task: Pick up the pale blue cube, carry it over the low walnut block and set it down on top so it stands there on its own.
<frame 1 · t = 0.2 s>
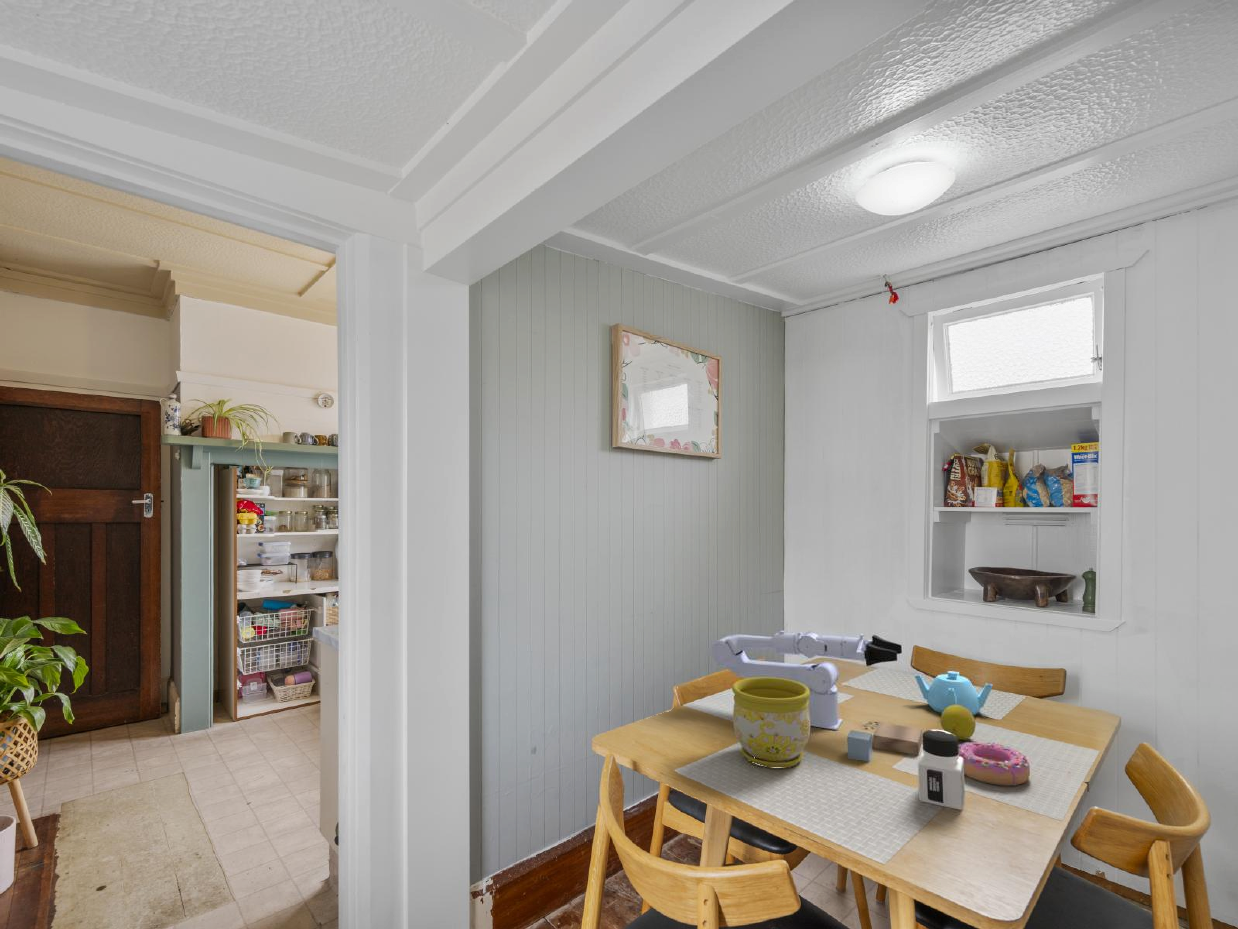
hand: (899, 652, 162), 21 cm above the table, tool horizontal, fingers open, 7 cm apart
container: (942, 799, 128), on the table
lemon: (959, 738, 160), on the table
teapot: (953, 710, 181), on the table
donut: (992, 775, 139), on the table
walnut block: (898, 744, 156), on the table
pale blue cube: (860, 756, 149), on the table
flowerpot: (771, 758, 149), on the table
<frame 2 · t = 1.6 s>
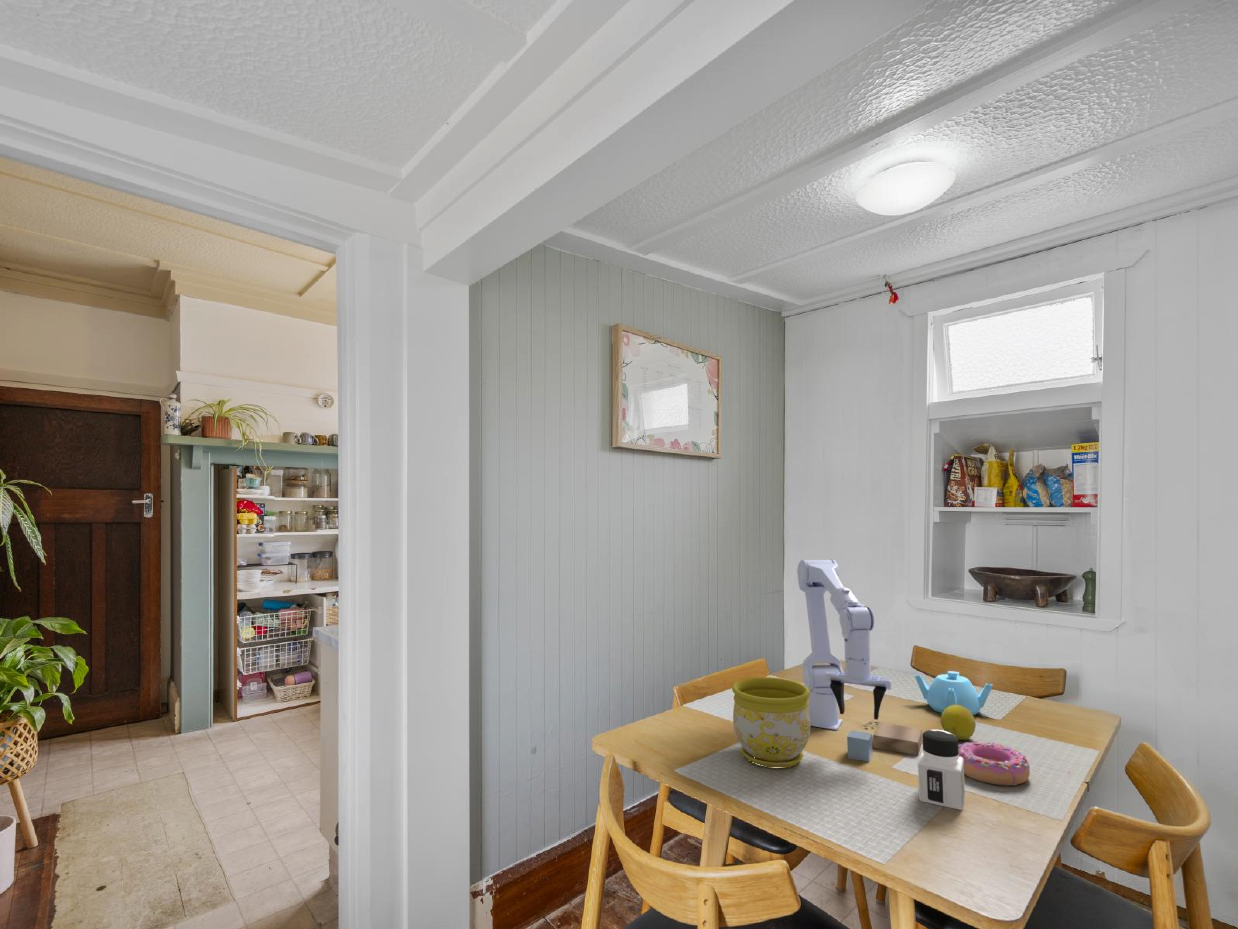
hand: (859, 715, 150), 9 cm above the table, tool pointing down, fingers open, 7 cm apart
nothing on the table moved.
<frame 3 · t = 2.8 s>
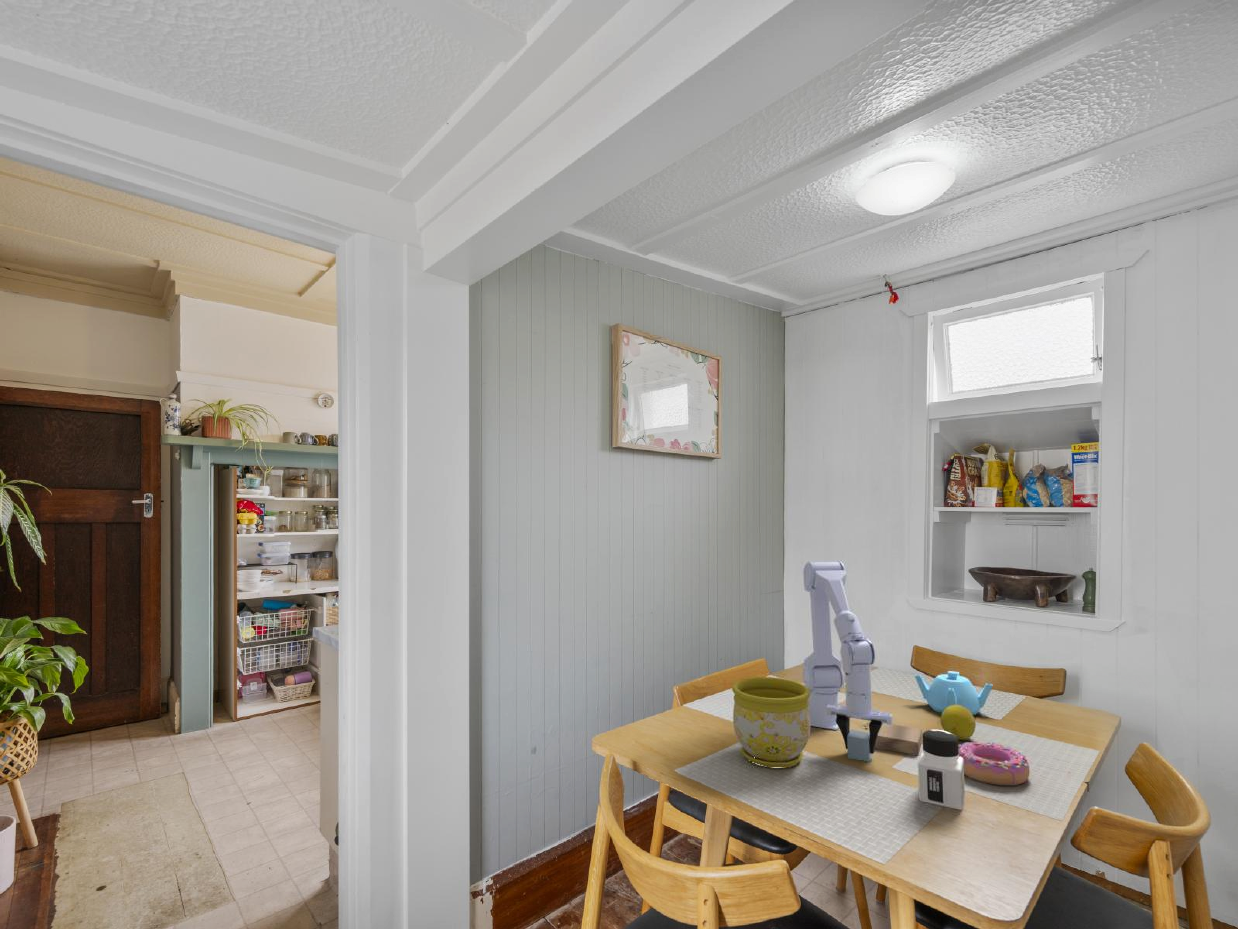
hand: (860, 750, 149), 1 cm above the table, tool pointing down, fingers closed on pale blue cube, 5 cm apart
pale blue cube: (860, 756, 149), on the table, touching gripper
everything else where it was.
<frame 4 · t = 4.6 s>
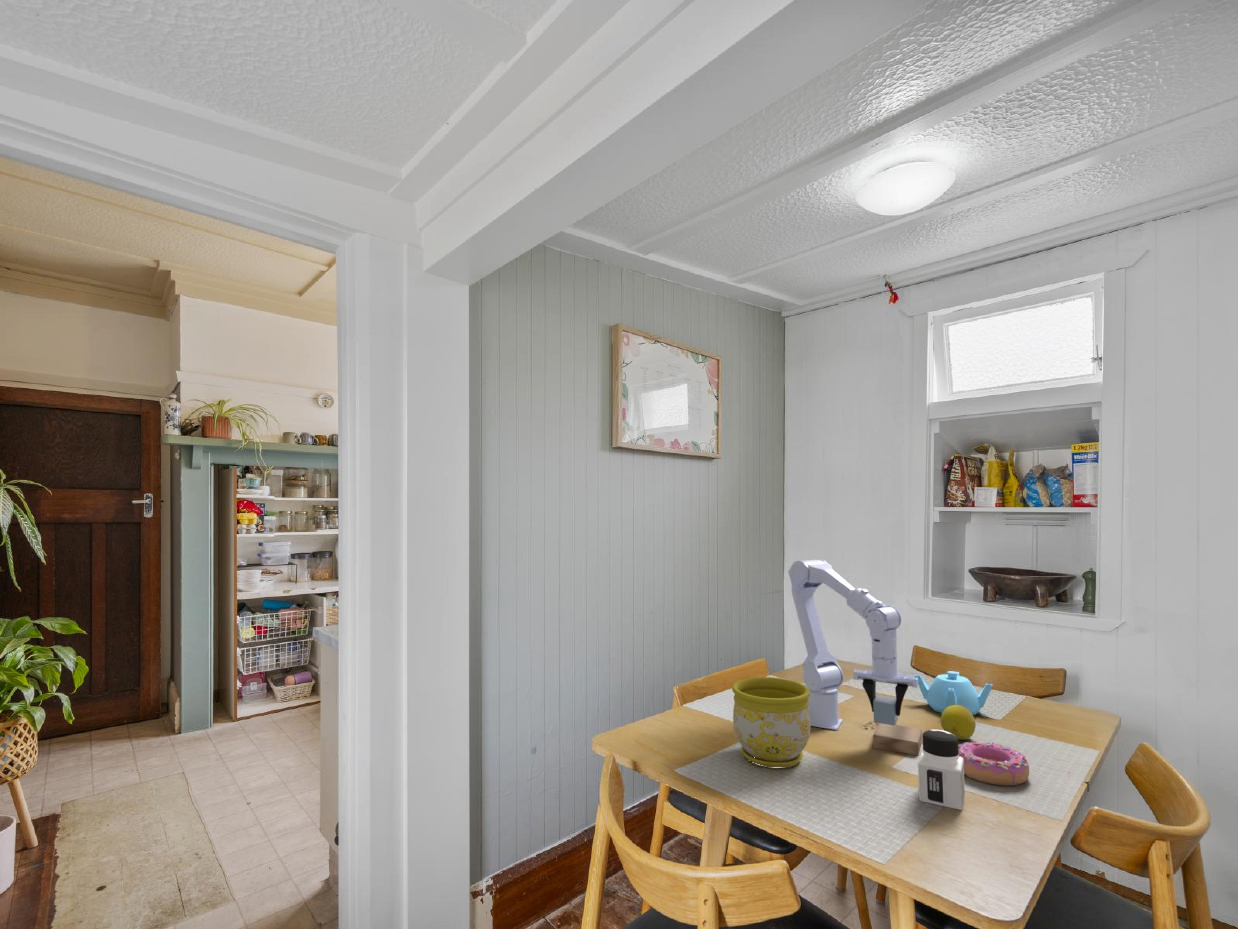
hand: (886, 712, 154), 8 cm above the table, tool pointing down, fingers closed on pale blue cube, 5 cm apart
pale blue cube: (886, 720, 154), point 7 cm above the table, touching gripper
everything else where it was.
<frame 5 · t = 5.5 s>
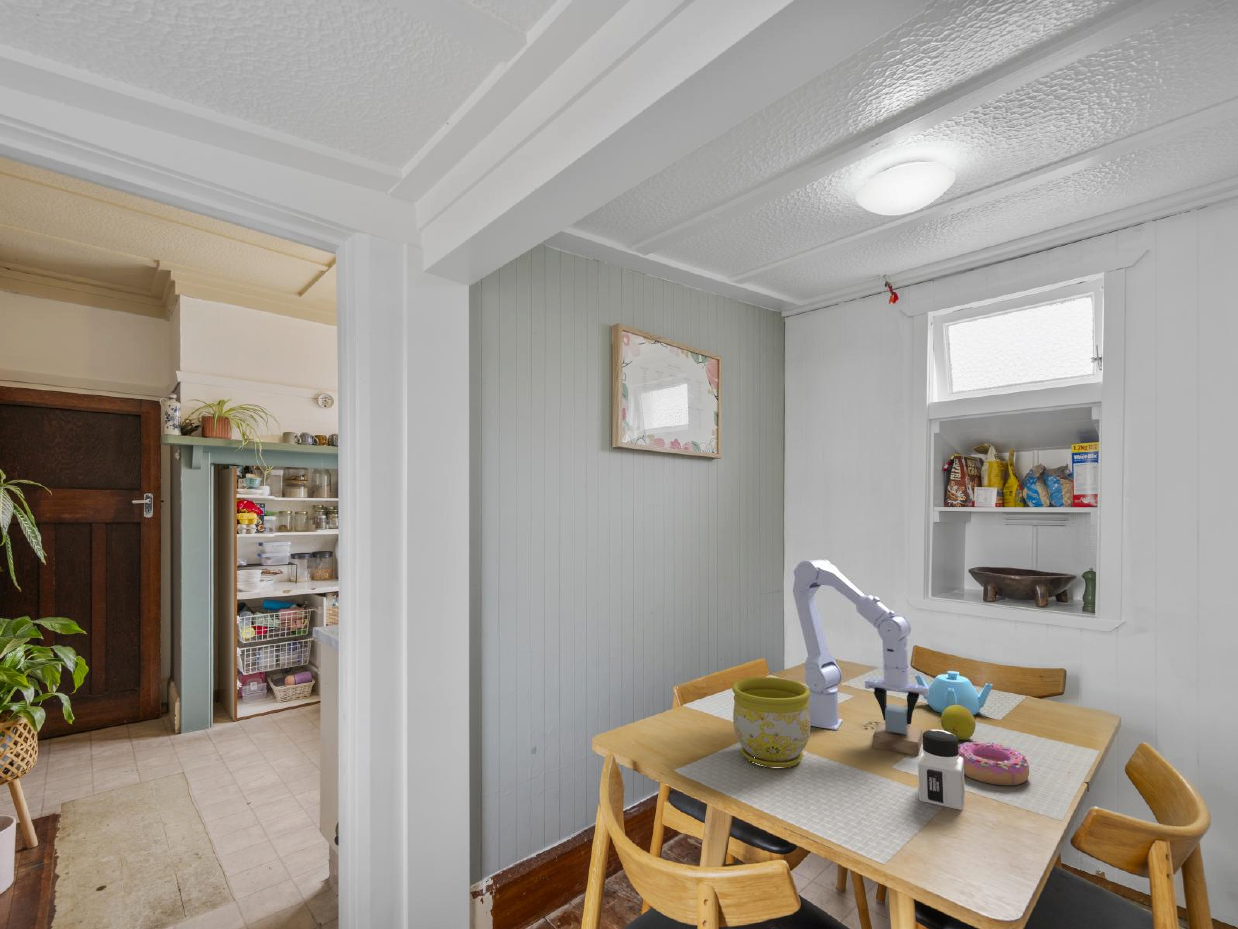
hand: (897, 721, 156), 6 cm above the table, tool pointing down, fingers closed on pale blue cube, 5 cm apart
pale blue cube: (897, 729, 156), point 4 cm above the table, touching gripper
everything else where it was.
when the fingers open (5 cm above the table, at t = 6.1 s): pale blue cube stays where it is, resting on walnut block.
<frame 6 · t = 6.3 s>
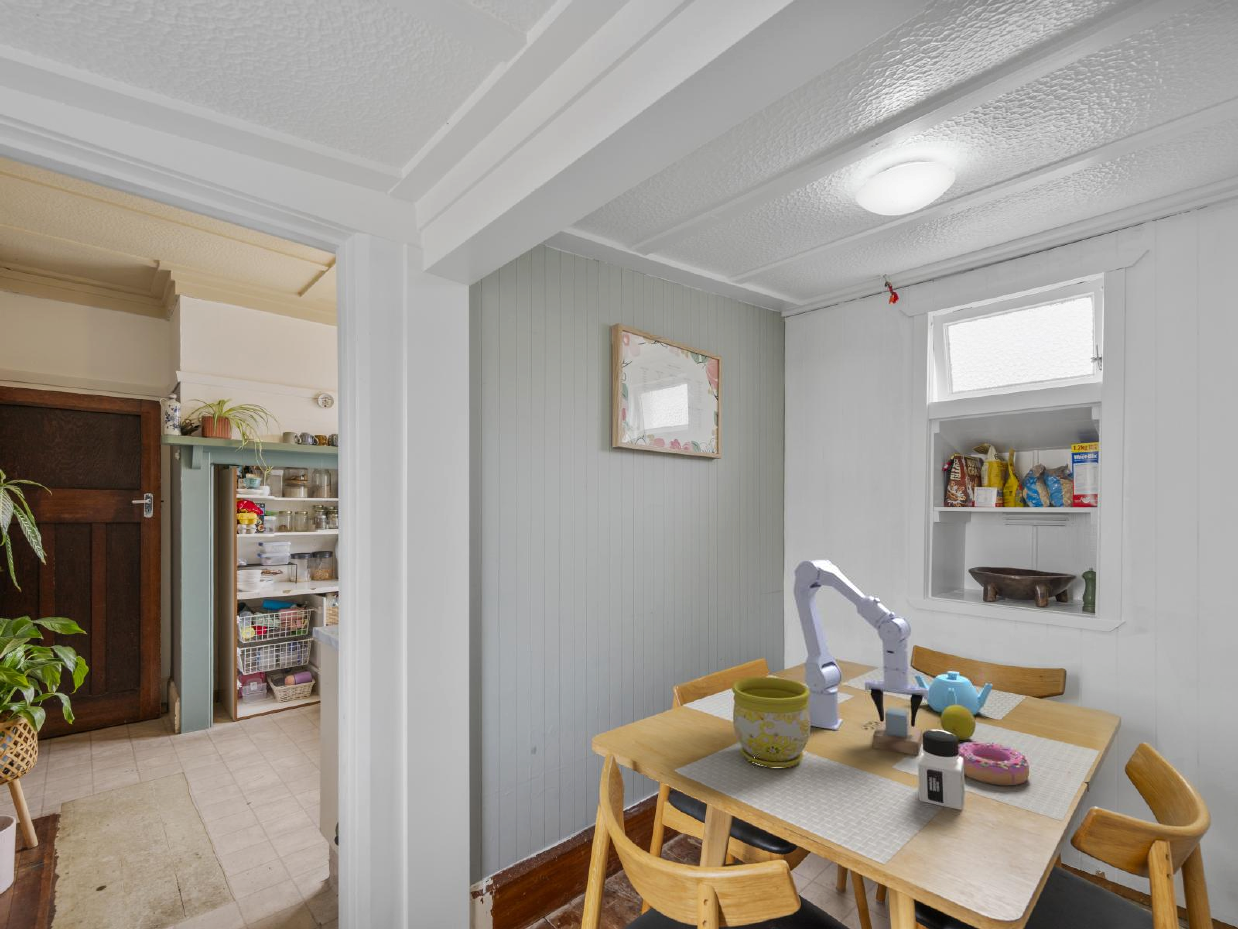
hand: (897, 722, 156), 5 cm above the table, tool pointing down, fingers open, 6 cm apart
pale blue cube: (897, 732, 156), point 3 cm above the table, touching walnut block
everything else where it was.
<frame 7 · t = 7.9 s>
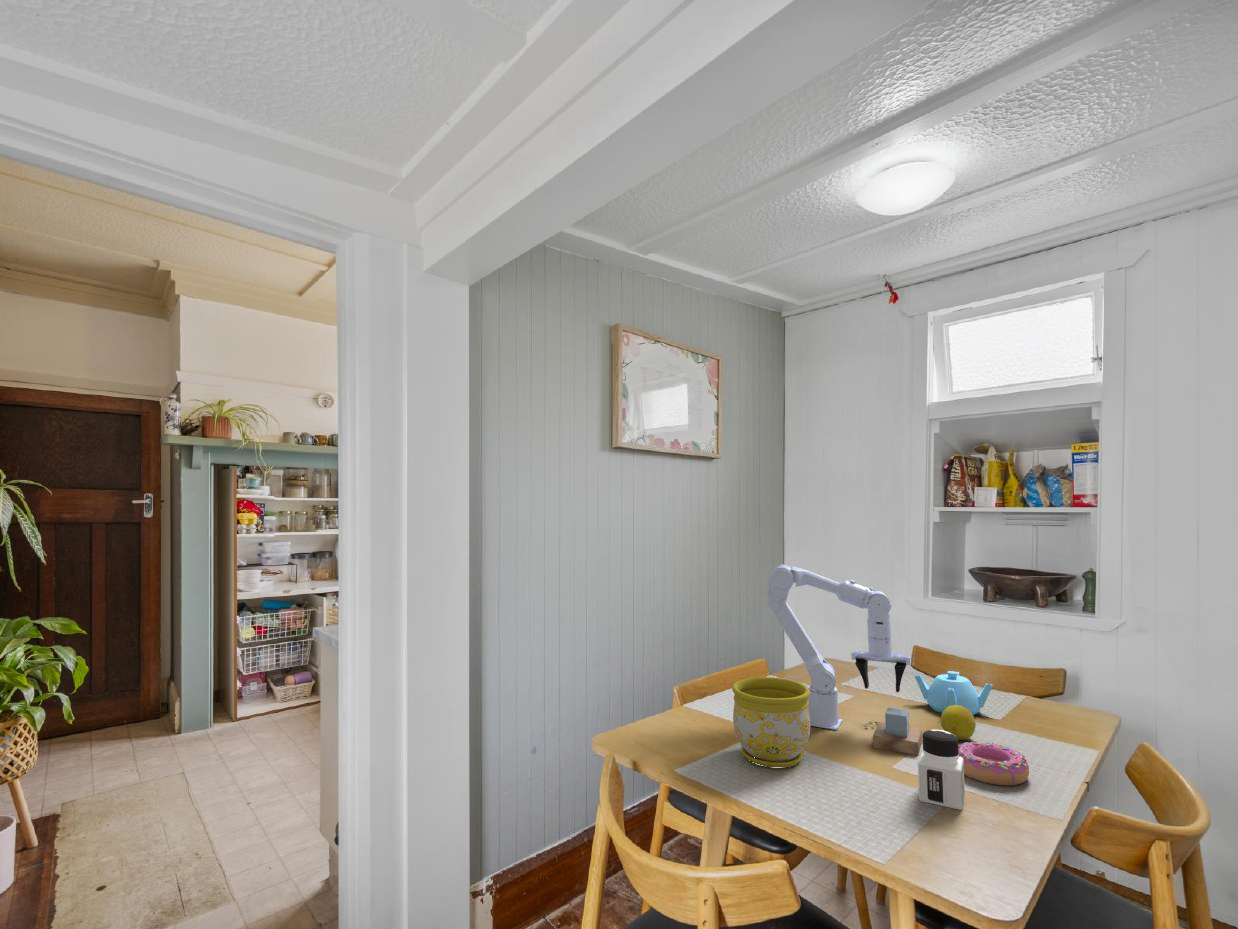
hand: (882, 689, 167), 10 cm above the table, tool pointing down, fingers open, 7 cm apart
nothing on the table moved.
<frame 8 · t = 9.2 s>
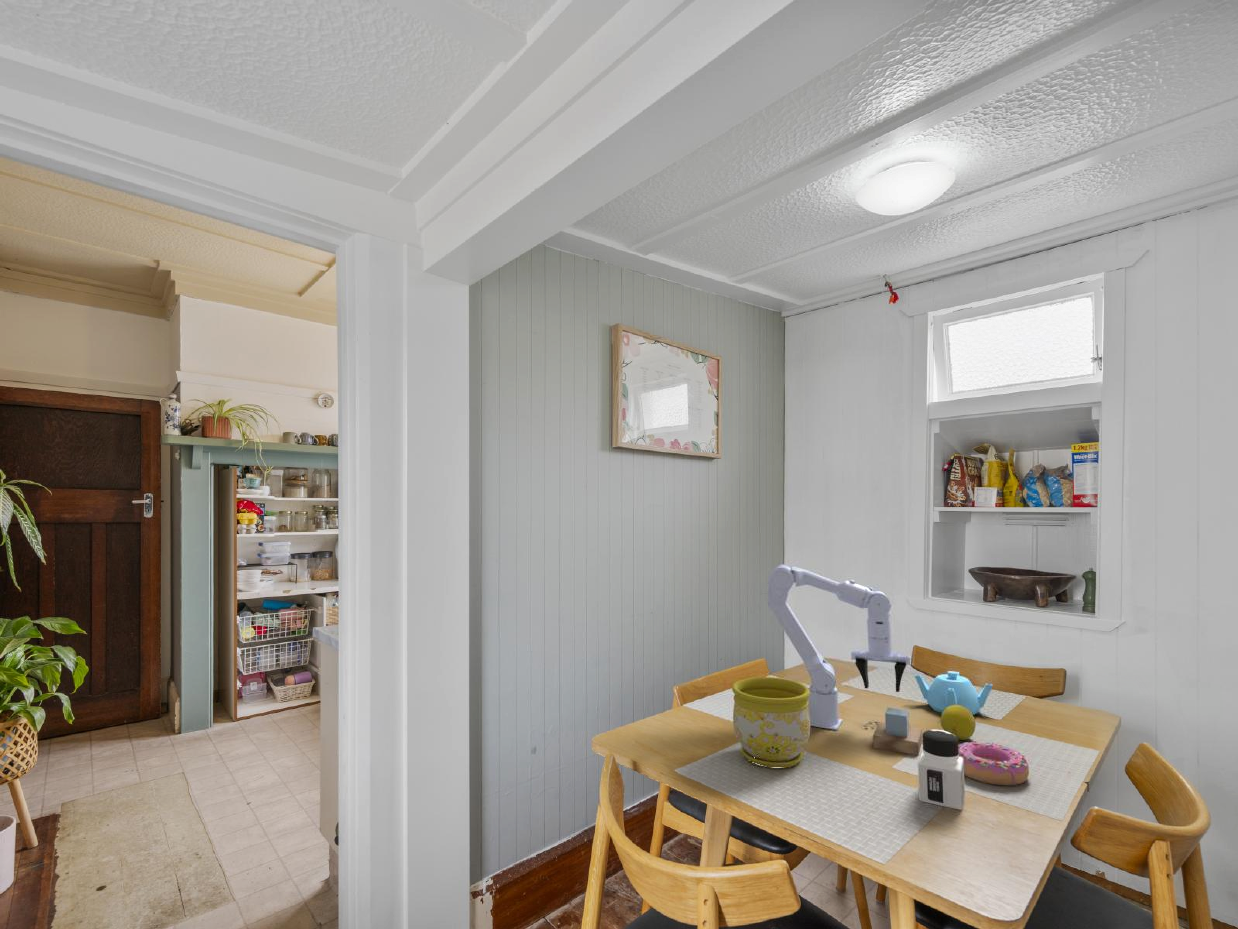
hand: (882, 689, 167), 10 cm above the table, tool pointing down, fingers open, 7 cm apart
nothing on the table moved.
at the end: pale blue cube inside the target area on the walnut block (0.4 cm from its centre), point 3.0 cm above the walnut block's base; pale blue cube tilted 0°; the gripper is holding nothing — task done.
